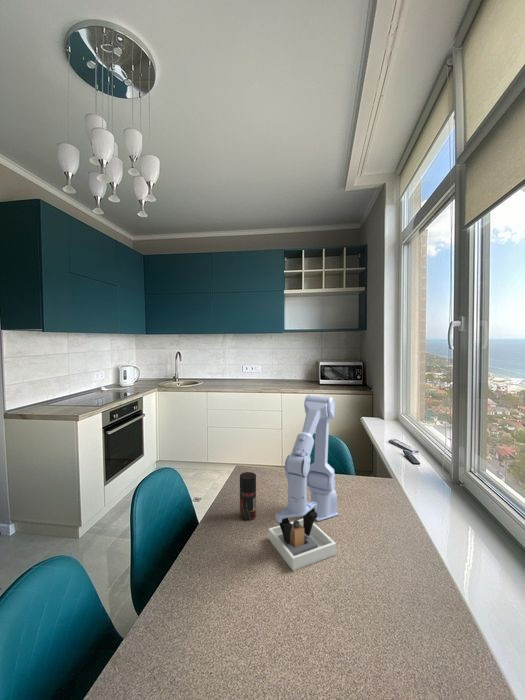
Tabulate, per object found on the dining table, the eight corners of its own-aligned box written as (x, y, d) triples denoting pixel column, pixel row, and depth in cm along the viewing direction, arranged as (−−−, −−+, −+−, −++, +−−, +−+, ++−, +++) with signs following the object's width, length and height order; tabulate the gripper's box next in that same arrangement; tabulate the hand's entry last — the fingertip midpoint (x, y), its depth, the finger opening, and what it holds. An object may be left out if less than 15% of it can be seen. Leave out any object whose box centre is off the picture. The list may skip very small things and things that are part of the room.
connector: (297, 540, 95) (297, 517, 95) (304, 547, 92) (304, 523, 92) (288, 544, 94) (288, 520, 93) (295, 551, 90) (295, 526, 90)
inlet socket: (301, 534, 99) (301, 528, 98) (317, 551, 90) (317, 544, 90) (277, 542, 95) (277, 535, 95) (292, 560, 87) (292, 553, 86)
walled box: (307, 527, 103) (307, 517, 103) (336, 554, 90) (336, 543, 90) (268, 539, 97) (268, 528, 97) (292, 571, 83) (293, 558, 83)
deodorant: (253, 521, 106) (253, 479, 106) (237, 519, 108) (237, 478, 107) (257, 512, 112) (257, 472, 112) (242, 510, 113) (242, 471, 113)
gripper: (307, 483, 99) (307, 524, 100) (270, 494, 92) (270, 538, 92) (321, 492, 93) (321, 535, 94) (283, 505, 86) (283, 552, 86)
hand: (297, 538), depth 92 cm, fingers open, 7 cm apart
